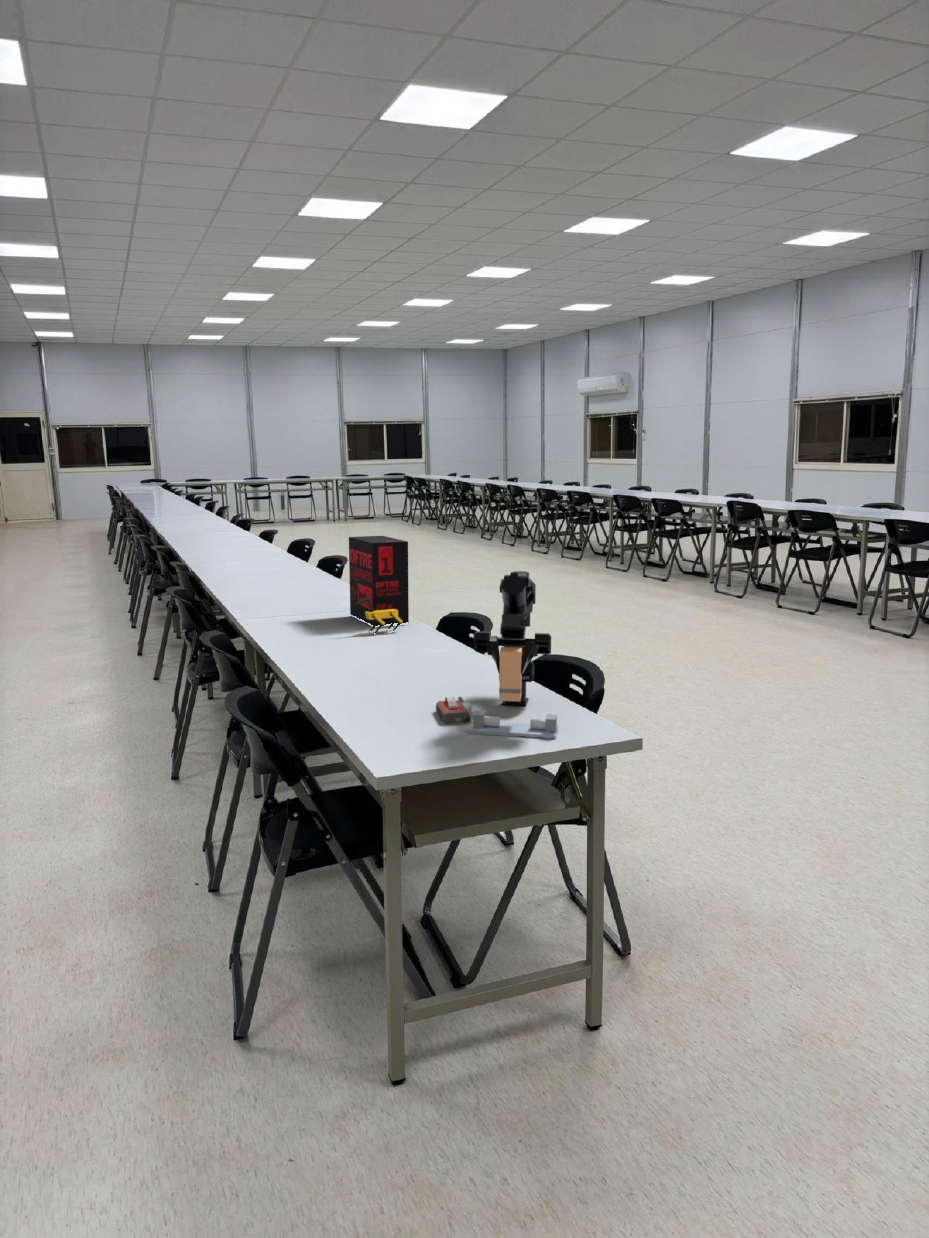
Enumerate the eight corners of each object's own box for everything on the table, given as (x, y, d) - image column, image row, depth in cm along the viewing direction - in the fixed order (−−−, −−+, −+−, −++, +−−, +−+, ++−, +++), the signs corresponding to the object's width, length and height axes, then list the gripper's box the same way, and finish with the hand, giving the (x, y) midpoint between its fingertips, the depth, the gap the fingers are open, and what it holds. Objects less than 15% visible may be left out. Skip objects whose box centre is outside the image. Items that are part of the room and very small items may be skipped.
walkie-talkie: (478, 725, 215) (463, 702, 235) (478, 707, 215) (463, 686, 234) (443, 727, 214) (431, 704, 233) (443, 709, 213) (430, 688, 232)
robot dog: (351, 634, 321) (351, 598, 318) (396, 629, 329) (396, 594, 327) (358, 637, 316) (357, 600, 313) (403, 632, 325) (402, 596, 322)
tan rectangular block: (500, 694, 215) (501, 646, 213) (521, 695, 215) (522, 647, 212) (499, 700, 210) (499, 651, 208) (520, 701, 210) (521, 652, 207)
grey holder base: (476, 723, 215) (476, 707, 215) (558, 728, 212) (558, 712, 211) (470, 733, 208) (470, 717, 207) (555, 738, 204) (556, 722, 203)
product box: (350, 616, 355) (348, 537, 349) (383, 613, 362) (382, 535, 356) (373, 628, 332) (372, 543, 326) (408, 624, 338) (408, 541, 332)
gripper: (474, 598, 213) (468, 654, 204) (552, 600, 210) (549, 656, 202) (477, 624, 222) (472, 678, 213) (552, 626, 220) (549, 680, 211)
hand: (510, 673), depth 210 cm, fingers closed on tan rectangular block, 5 cm apart
